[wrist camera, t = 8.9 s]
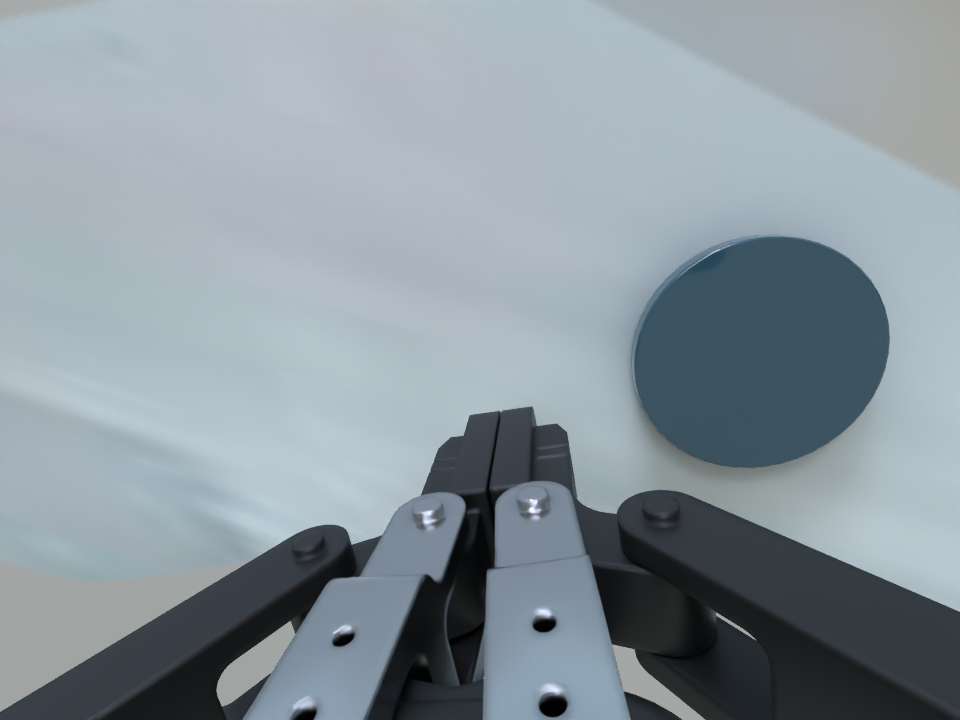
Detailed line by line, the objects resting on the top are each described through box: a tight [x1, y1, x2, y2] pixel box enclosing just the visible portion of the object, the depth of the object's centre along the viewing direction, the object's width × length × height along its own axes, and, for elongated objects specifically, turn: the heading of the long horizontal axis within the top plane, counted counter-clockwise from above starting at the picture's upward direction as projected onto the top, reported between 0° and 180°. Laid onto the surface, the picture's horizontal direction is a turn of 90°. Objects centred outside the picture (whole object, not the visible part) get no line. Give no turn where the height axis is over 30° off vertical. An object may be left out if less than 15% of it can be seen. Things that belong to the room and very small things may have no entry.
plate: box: [631, 235, 890, 468], centre depth 16 cm, size 7×7×1 cm
